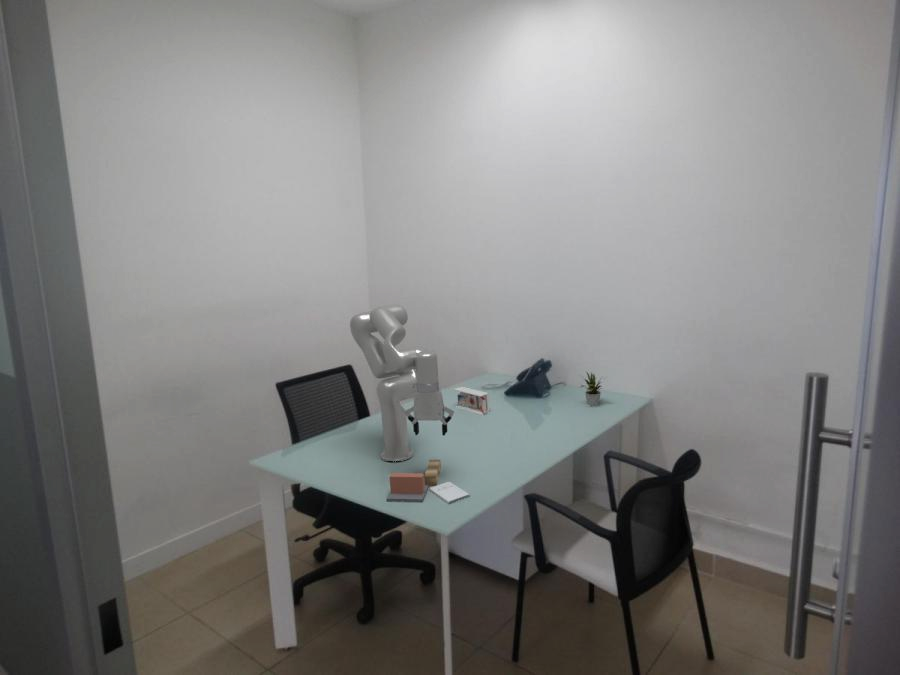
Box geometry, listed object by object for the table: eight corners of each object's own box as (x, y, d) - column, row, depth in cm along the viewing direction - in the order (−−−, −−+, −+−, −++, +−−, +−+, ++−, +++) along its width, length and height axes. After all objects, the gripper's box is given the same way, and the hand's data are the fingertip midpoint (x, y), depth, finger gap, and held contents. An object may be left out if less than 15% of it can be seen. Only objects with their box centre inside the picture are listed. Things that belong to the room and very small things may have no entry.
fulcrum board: (394, 487, 195) (392, 468, 194) (428, 488, 193) (427, 469, 192) (386, 501, 186) (385, 481, 184) (422, 502, 184) (421, 482, 182)
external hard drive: (448, 506, 181) (429, 492, 192) (470, 498, 185) (450, 485, 196) (448, 501, 181) (429, 487, 191) (469, 494, 185) (449, 480, 196)
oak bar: (430, 470, 209) (429, 459, 208) (440, 469, 208) (440, 459, 207) (425, 487, 195) (424, 476, 194) (436, 487, 194) (436, 476, 194)
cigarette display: (454, 407, 279) (453, 389, 277) (462, 404, 283) (461, 386, 281) (483, 415, 264) (482, 396, 263) (491, 412, 268) (490, 393, 266)
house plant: (570, 402, 276) (569, 369, 273) (595, 398, 280) (594, 366, 277) (585, 410, 262) (585, 376, 259) (611, 406, 266) (611, 372, 263)
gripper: (400, 390, 192) (404, 437, 196) (450, 390, 189) (453, 438, 193) (405, 384, 200) (409, 430, 203) (454, 383, 197) (456, 430, 200)
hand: (430, 434), depth 198 cm, fingers open, 9 cm apart
